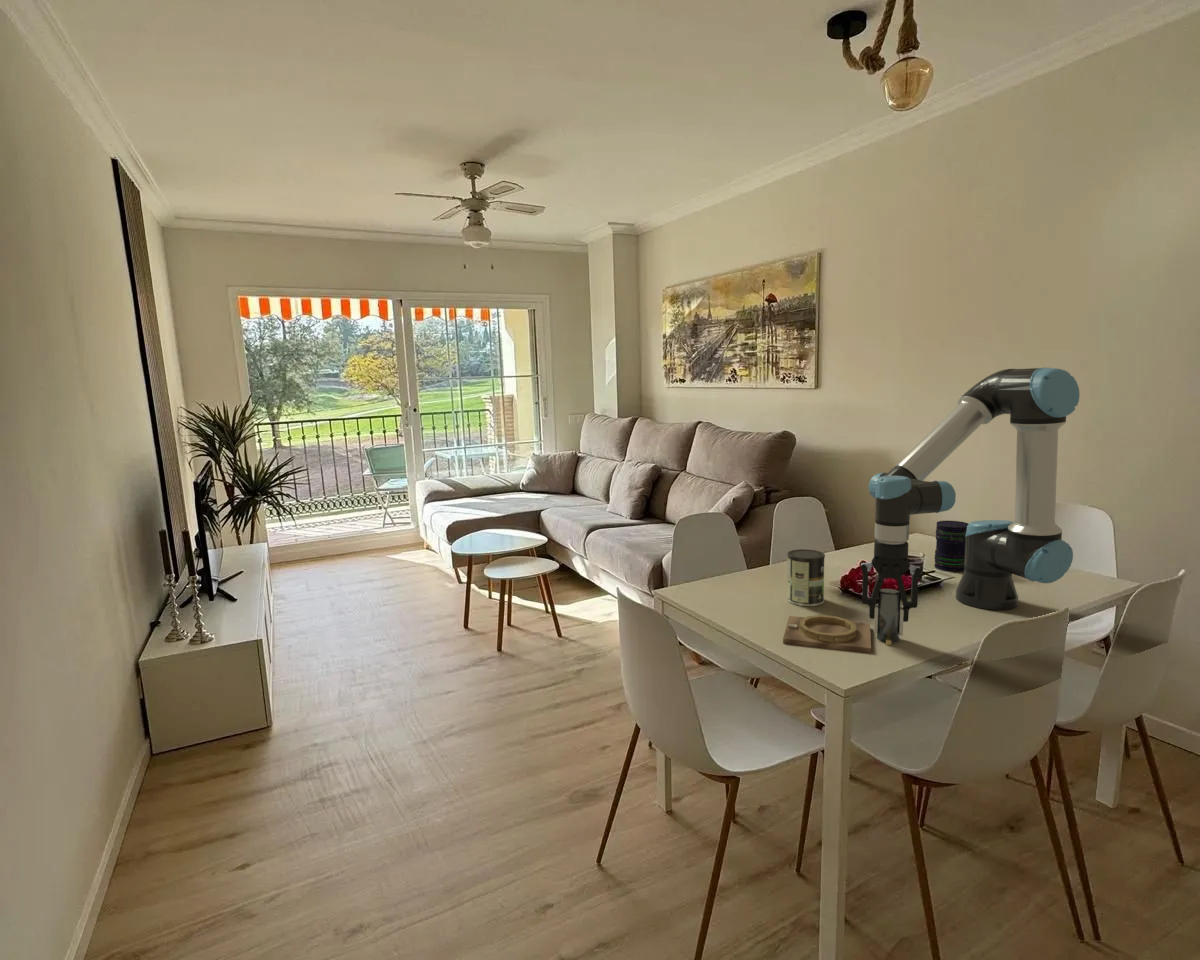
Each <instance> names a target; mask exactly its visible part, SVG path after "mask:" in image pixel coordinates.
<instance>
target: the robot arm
mask: <svg viewBox="0 0 1200 960" xmlns="http://www.w3.org/2000/svg"><path fill="white" fill-rule="evenodd" d="M1080 395H1081V394H1080V388H1079V384H1078V382H1077V380H1076V379H1075V377H1074V376H1072V375H1071V373H1070V372H1069V371H1068V370H1065V369H1062V368H1055V367H1054V368H1053V367H1036V368H1035V367H1032V368H1007V369H1001V370H998V371H996V372H994V373H992V374H990V375H988V376H987V377H984V378H983V379H982V380H980V381H978V382H977V383H976V384H974V385H973V386H972V387H970V388H969V389H968V390H967V391H966V392H965V393H964V394H963V395H961V397H960V398H959V399H958V400H957V406H956V407H955V408H954V409H953V410H952V411H951V412H949V413H948V415H947V416H945V418H944V419H942V420H941V421H940V423H938V424H937V425H936V426H935V427H934V428H933V429H932V430H931V431H929V433H928V434H927V435H926V436H925V437H924V438H922V440H920V441H919V442H918V443H917V444H916V445H915V447H913V448H912V449H911V450H910V451H909V452H908V453H907V454H906V455H905V456H904V457H903V458H902V459H900V461H898V463H896V464H895V465H894V466H893V468H891V469H890V470H889V471H888V472H878V473H876V474H874V475H873V476H872V477H871V478H870V481H869V482H868V492H869V494H870V496H871V497H872V498H873V499H875V507H874V508H875V515H874V516H875V518H874V520H875V522H874V538H875V540H874V542H873V543H874V544H873V546H874V547H873V558H872V559H871V561H868V562H864V561H863V562H860V569H861V572H862V588H861V589H862V590H861V591H862V592H861V602H862V604H864V605H865V604H866V605H868V607H869V611H868V613H869V615H868V616H869V619H872V620H873V633H874V634H877V629H878V603H877V602H878V595H879V592H880V589H882V585H883V583H884V580H885V579H891V580H892V579H893V580H896V584H897V587H898V591H899V592H900V595H901V599H900V600H901V602H902V606H901V605H900V623H899V637H900V636H903V634H904V622H905V623H908V622H909V611H910V609H913V608H914V609H916V608H918V601H919V600H918V595H919V578H920V575H921V573H922V569H921V567H920V565H913V564H911V563H910V561H909V543H908V540H910V539H909V538H910V519H911V515H923V514H934V513H936V514H938V513H943V512H947V511H949V510H951V509H952V508H953V507H954V506H955V504H956V499H957V498H956V494H957V493H956V490H955V488H954V486H953V485H952V484H951V483H950V482H948V481H945V480H933V481H925V479H926V478H927V477H929V475H930V474H931V473H933V472H934V470H936V469H937V468H938V467H939V466H940V465H941V464H942V463H943V462H944V461H945V460H946V459H947V458H948V457H950V455H952V454H953V452H954V451H956V450H957V448H958V447H960V446H961V445H962V443H964V442H965V441H966V440H967V439H968V438H969V437H970V436H971V435H972V434H973V433H974V432H975V431H976V430H977V429H978V428H980V427H981V425H987V424H989V423H991V421H993V419H995V418H996V417H999V416H1003V415H1010V416H1009V417H1010V420H1009V422H1010V423H1009V424H1010V425H1011V426H1013V427H1014V429H1015V430H1016V454H1015V455H1016V456H1015V457H1016V458H1015V459H1016V461H1015V463H1016V464H1015V498H1014V499H1015V502H1014V505H1015V506H1014V521H1012V520H1003V519H985V520H983V519H982V520H974V521H971V522H968V526H967V531H966V535H965V563H964V572H962V573H963V574H962V576H961V578H960V580H959V582H958V584H957V587H956V590H955V599H956V600H957V601H958V602H961V603H963V604H964V605H966V606H970V607H974V608H980V609H985V610H998V611H1000V610H1001V611H1002V610H1003V611H1004V610H1011V609H1015V608H1017V607H1018V604H1019V596H1018V593H1017V588H1016V586H1015V583H1014V579H1013V575H1014V576H1017V577H1021V578H1024V579H1026V580H1028V581H1031V582H1038V583H1041V584H1051V583H1054V582H1057V581H1058V580H1060V579H1061V578H1063V577H1064V575H1066V573H1068V571H1069V569H1070V568H1071V566H1072V563H1073V559H1074V553H1073V548H1072V547H1071V546H1070V544H1069V543H1067V542H1066V541H1065V540H1062V539H1063V537H1062V536H1063V534H1062V533H1063V529H1062V528H1061V527H1060V526H1058V524H1057V523H1056V522H1055V521H1056V503H1057V502H1056V499H1057V474H1058V473H1057V472H1058V471H1057V469H1058V468H1057V467H1058V446H1059V445H1058V443H1059V429H1060V428H1061V427H1062V426H1063V425H1065V424H1066V423H1067V416H1069V415H1071V414H1073V413H1074V411H1075V410H1076V407H1077V406H1078V404H1079V402H1080ZM872 567H873V569H874V570H875V571H876V573H877V578H876V580H875V583H874V587H873V589H872V593H871V596H870V597H868V596H869V595H868V594H869V572H871V570H872ZM908 570H909V572H910V575H911V589H910V593H911V594H910V595H911V598H910V601H908V597H907V594H906V593H907V592H906V590H905V586H904V585H905V584H904V581H903V578H902V577H903V575H904V574H905V573H906V572H907V571H908Z"/></svg>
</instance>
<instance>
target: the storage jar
mask: <svg viewBox="0 0 1200 960" xmlns="http://www.w3.org/2000/svg"><path fill="white" fill-rule="evenodd" d="M968 524H969V522H964V521H960V520H958V521H957V520H939V521H937V522H936V524H935V525H936V527H935V528H936V529H935V540H936V541H935V551H934V558H933V559H934V568H935V569H937V570H939V571H942V572H948V573H964V563H965V535H966V531H967V526H968Z"/></svg>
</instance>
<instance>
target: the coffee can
mask: <svg viewBox="0 0 1200 960" xmlns="http://www.w3.org/2000/svg"><path fill="white" fill-rule="evenodd" d="M786 555H787V598H786V599H787V601H788V602H789V603H790V604H792V605H795V606H799V607H817V606H821V605H823V604H824V603H825V600H824V599H825V598H824V597H825V596H824V595H825V558H826V554H825V553H824V552H822V551H820V550H815V549H805V548H804V549H802V548H800V549H799V548H798V549H793V550H790V551H788V552H787V553H786Z"/></svg>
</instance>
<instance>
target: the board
mask: <svg viewBox="0 0 1200 960" xmlns="http://www.w3.org/2000/svg"><path fill="white" fill-rule="evenodd" d="M871 638H872V637H871V623H868V622H867V623H866V622H858V621H857V622H855V621H851V620H849V619H846V618H843V617H839V616H836V615H824V614H818V615H808V616H806V617H805V616H796V615H795V616H794V615H793V616H792V615H788V620H787V623H786V626H785V630H784V633H783V637H782V643H783V644H786V645H787V644H788V645H796V646H803V647H804V646H805V647H813V648H815V647H816V648H820V649H821V648H823V649H832V650H840V651H848V652H849V651H850V652H856V653H857V652H859V653H860V652H861V653H865V654H866V653H868V654H871V653H872V641H871V640H872V639H871Z"/></svg>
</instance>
